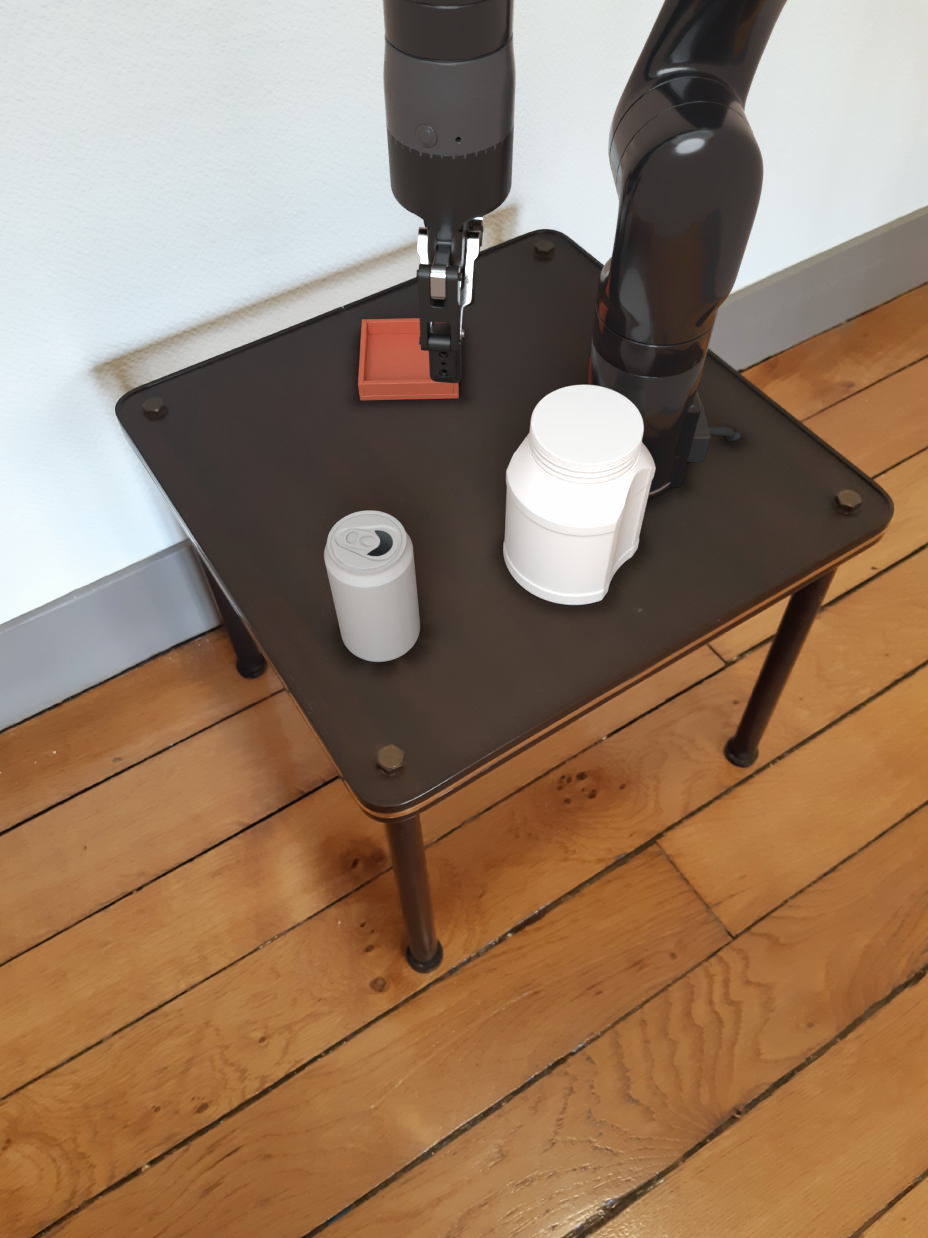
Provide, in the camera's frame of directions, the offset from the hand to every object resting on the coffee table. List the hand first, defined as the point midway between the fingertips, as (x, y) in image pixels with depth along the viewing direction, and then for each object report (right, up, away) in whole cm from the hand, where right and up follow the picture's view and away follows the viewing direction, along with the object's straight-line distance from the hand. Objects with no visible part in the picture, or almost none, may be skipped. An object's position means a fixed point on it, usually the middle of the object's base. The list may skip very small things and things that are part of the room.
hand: (453, 339), depth 68 cm
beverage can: (-6, -22, +8) cm, 24 cm away
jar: (+10, -15, +13) cm, 22 cm away
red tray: (-5, +5, +26) cm, 27 cm away
